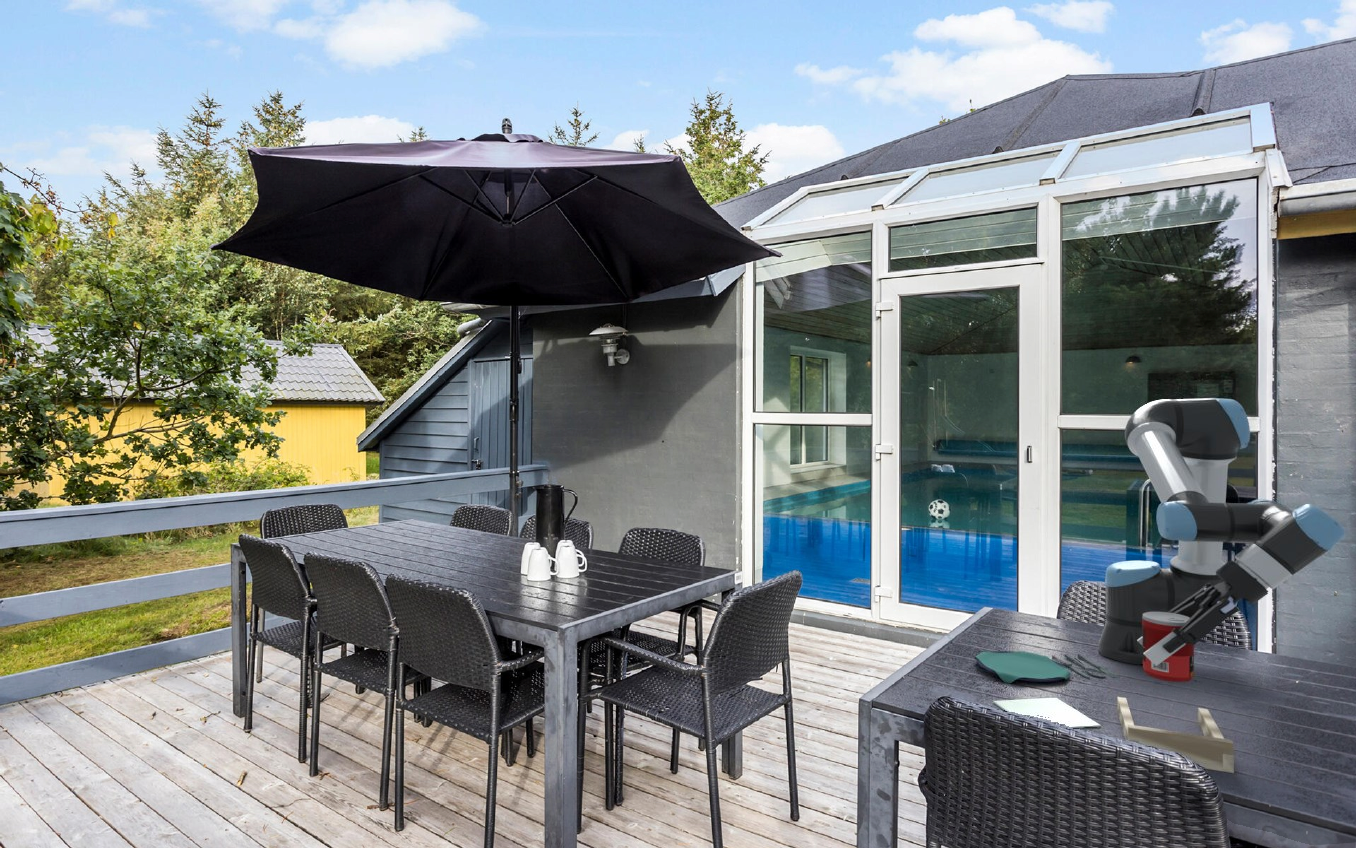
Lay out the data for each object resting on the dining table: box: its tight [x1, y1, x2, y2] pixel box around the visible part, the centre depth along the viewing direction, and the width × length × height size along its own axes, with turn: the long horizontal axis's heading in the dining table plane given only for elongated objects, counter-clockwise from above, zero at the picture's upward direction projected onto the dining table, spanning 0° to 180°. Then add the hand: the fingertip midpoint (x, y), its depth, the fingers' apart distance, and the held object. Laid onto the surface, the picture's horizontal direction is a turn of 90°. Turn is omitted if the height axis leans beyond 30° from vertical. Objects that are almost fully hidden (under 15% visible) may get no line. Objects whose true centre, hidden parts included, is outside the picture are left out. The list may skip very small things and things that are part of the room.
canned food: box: [1142, 612, 1195, 683], centre depth 135 cm, size 8×8×11 cm
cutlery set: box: [974, 650, 1120, 684], centre depth 171 cm, size 20×30×2 cm, turn 93°
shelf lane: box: [1116, 696, 1235, 774], centre depth 134 cm, size 22×15×5 cm
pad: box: [993, 697, 1101, 729], centre depth 146 cm, size 14×14×1 cm
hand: (1146, 652), depth 137 cm, fingers closed on canned food, 8 cm apart
